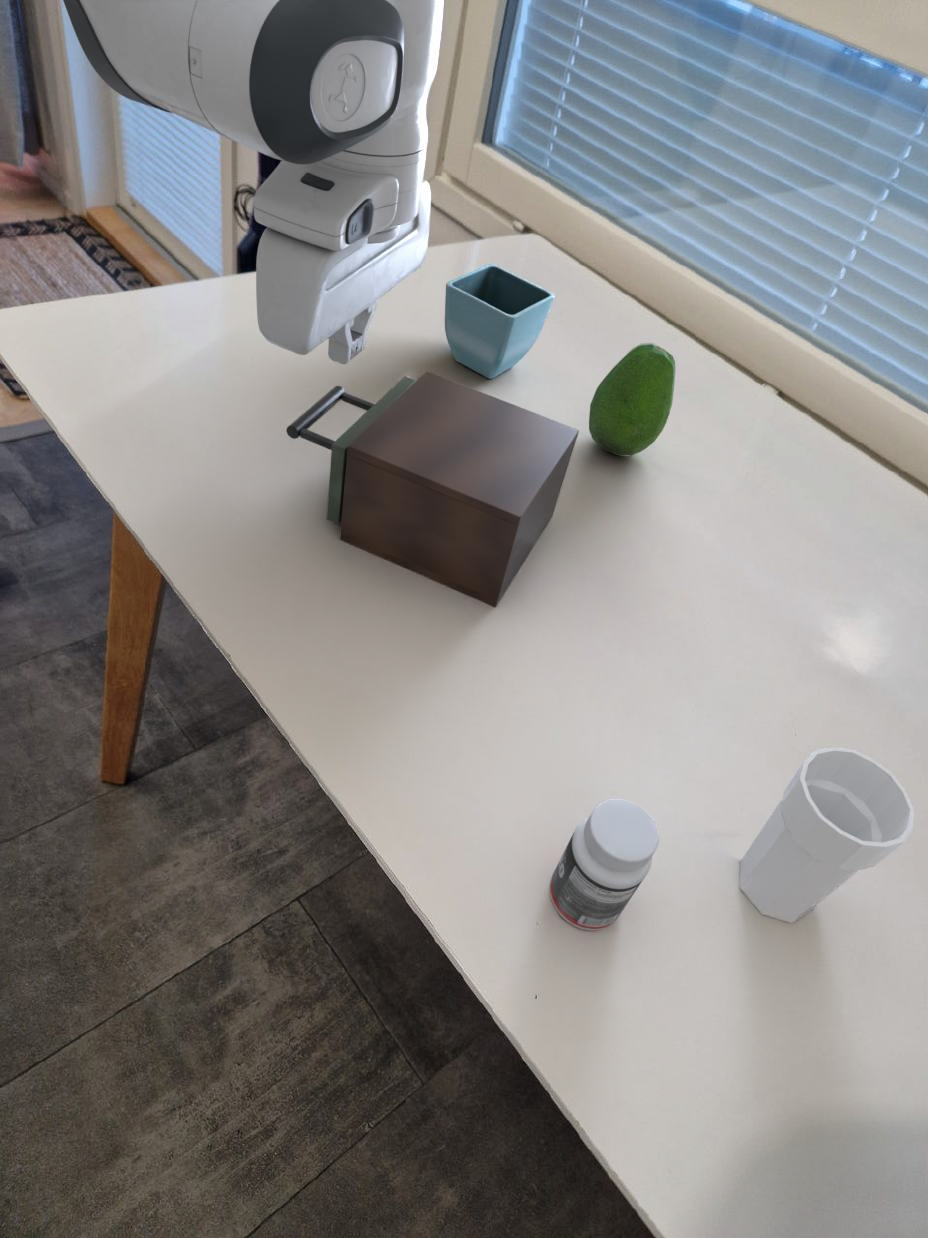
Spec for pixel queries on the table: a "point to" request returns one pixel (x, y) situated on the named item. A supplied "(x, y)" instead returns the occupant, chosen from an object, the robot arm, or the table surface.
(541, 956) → the table surface
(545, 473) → the cabinet
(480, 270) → the flower pot
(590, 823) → the pill bottle
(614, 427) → the avocado
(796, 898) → the cup
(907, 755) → the table surface
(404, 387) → the drawer
